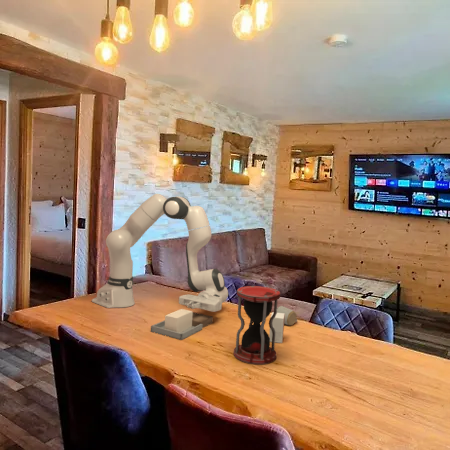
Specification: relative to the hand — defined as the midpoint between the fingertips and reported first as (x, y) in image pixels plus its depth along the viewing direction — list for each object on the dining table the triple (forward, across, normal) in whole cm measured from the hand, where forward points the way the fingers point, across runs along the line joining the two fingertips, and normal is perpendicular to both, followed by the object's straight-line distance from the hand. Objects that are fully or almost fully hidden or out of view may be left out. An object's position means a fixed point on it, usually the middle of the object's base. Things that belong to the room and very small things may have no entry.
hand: (189, 306), depth 187 cm
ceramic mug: (-31, +35, +9) cm, 48 cm away
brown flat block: (-4, 0, +8) cm, 9 cm away
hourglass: (+13, +39, +9) cm, 42 cm away
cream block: (+2, 0, +4) cm, 5 cm away
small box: (-8, +39, +9) cm, 41 cm away
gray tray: (+9, 0, +8) cm, 13 cm away
